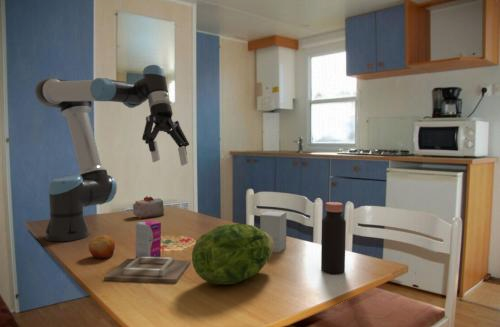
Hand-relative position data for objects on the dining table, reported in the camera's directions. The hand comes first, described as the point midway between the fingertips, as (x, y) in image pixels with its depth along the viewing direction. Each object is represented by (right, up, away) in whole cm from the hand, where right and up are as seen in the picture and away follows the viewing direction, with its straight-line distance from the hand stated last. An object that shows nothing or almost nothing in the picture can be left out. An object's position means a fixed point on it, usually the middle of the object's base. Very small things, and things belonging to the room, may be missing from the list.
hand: (171, 162), depth 135 cm
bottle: (+51, -32, -20) cm, 64 cm away
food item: (-22, -26, +57) cm, 67 cm away
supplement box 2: (+35, -30, +3) cm, 47 cm away
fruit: (-21, -31, -7) cm, 38 cm away
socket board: (-2, -32, -21) cm, 38 cm away
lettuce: (+24, -32, -26) cm, 48 cm away
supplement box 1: (-6, -31, -8) cm, 32 cm away
